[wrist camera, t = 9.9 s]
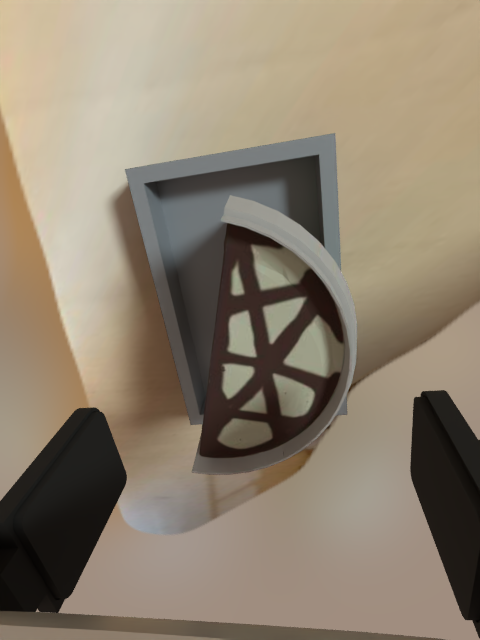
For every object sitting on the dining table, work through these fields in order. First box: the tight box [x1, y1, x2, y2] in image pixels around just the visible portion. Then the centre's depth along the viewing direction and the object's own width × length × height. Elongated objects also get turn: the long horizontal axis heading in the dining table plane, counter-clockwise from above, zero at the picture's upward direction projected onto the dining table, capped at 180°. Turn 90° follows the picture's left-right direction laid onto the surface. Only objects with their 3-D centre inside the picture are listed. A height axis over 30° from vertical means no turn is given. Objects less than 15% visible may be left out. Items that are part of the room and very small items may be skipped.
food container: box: [192, 195, 357, 475], centre depth 18 cm, size 12×6×10 cm, turn 172°
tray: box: [125, 133, 347, 425], centre depth 23 cm, size 11×17×3 cm, turn 9°
